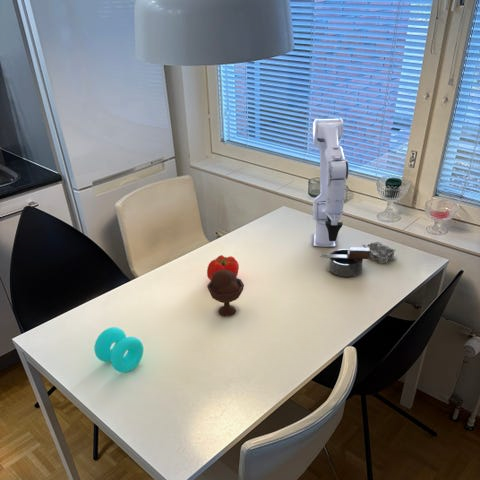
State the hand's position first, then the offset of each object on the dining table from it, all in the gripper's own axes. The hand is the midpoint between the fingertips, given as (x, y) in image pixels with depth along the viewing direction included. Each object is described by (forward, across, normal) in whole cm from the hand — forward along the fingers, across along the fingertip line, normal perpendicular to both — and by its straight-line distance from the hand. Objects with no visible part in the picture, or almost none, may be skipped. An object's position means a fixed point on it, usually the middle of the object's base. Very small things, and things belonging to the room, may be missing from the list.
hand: (332, 235), depth 169 cm
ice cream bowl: (+11, +33, -32) cm, 47 cm away
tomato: (+11, +16, -36) cm, 41 cm away
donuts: (+11, +60, -57) cm, 83 cm away
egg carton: (+11, -5, +17) cm, 21 cm away
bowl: (+10, +5, +5) cm, 12 cm away
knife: (+5, +5, +5) cm, 9 cm away
